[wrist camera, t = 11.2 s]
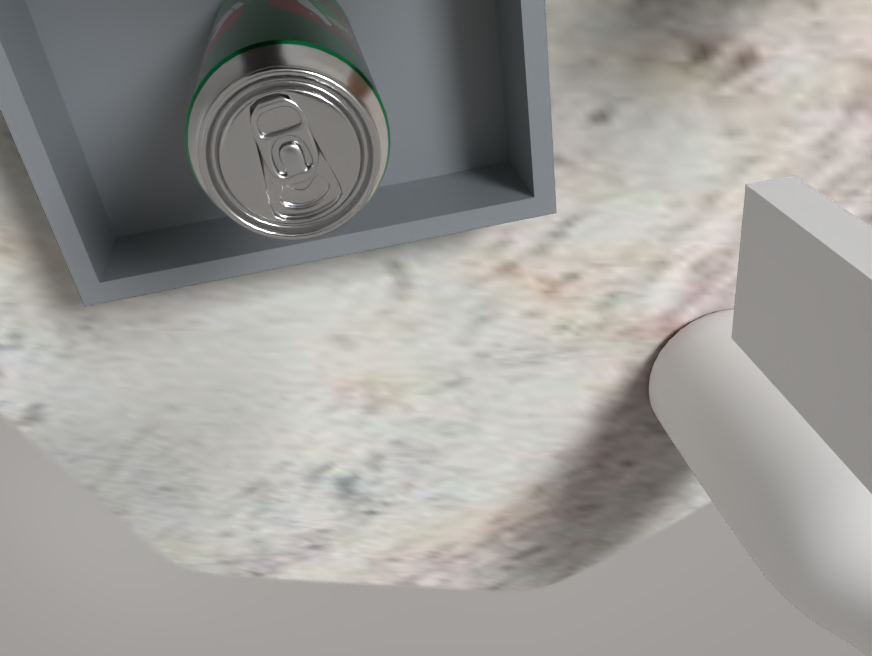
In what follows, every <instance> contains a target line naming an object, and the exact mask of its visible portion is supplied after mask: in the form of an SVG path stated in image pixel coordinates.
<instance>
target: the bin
mask: <svg viewBox="0 0 872 656" xmlns="http://www.w3.org/2000/svg"><path fill="white" fill-rule="evenodd" d="M224 1H225V0H0V110H1V112H2V114H3V117H4V119H5V121H6V124H7V126H8V128H9V131H10V133H11V135H12V138H13V140H14V142H15V145H16V147H17V149H18V152H19V154H20V156H21V159H22V161H23V163H24V166H25V168H26V170H27V173H28V175H29V177H30V180H31V182H32V184H33V187H34V189H35V191H36V194H37V196H38V198H39V201H40V203H41V205H42V208H43V210H44V212H45V215H46V217H47V219H48V222H49V224H50V226H51V229H52V231H53V233H54V236H55V238H56V240H57V243H58V245H59V247H60V250H61V252H62V254H63V257H64V259H65V261H66V264H67V266H68V269H69V271H70V273H71V276H72V278H73V280H74V283H75V285H76V287H77V290H78V292H79V294H80V297H81V299H82V301H83V304H84V306H90V305H95V304H100V303H105V302H110V301H115V300H120V299H125V298H130V297H135V296H140V295H145V294H150V293H155V292H161V291H166V290H171V289H176V288H181V287H186V286H191V285H196V284H201V283H206V282H211V281H216V280H221V279H226V278H231V277H236V276H241V275H246V274H251V273H256V272H261V271H266V270H271V269H276V268H282V267H287V266H292V265H297V264H302V263H307V262H312V261H317V260H322V259H327V258H332V257H337V256H342V255H347V254H352V253H357V252H362V251H367V250H372V249H377V248H382V247H387V246H392V245H398V244H403V243H408V242H413V241H418V240H423V239H428V238H433V237H438V236H443V235H448V234H453V233H458V232H463V231H468V230H473V229H478V228H483V227H488V226H493V225H498V224H503V223H508V222H513V221H519V220H524V219H529V218H534V217H539V216H544V215H549V214H554V213H556V196H555V178H554V160H553V141H552V123H551V105H550V86H549V68H548V50H547V31H546V13H545V0H336V1H337V2H338V3H339V5H340V6H341V7H342V9H343V11H344V12H345V14H346V16H347V17H348V20H349V22H350V25H351V27H352V30H353V32H354V34H355V37H356V39H357V42H358V44H359V47H360V49H361V52H362V54H363V56H364V59H365V61H366V64H367V66H368V69H369V71H370V74H371V76H372V78H373V81H374V83H375V86H376V88H377V91H378V93H379V96H380V98H381V100H382V103H383V106H384V108H385V111H386V113H387V118H388V122H389V127H390V140H391V146H390V155H389V161H388V165H387V168H386V172H385V175H384V177H383V179H382V181H381V183H380V186H379V187H378V189H377V191H376V192H375V194H374V195H373V197H372V198H371V199H370V200H369V202H368V203H367V204H366V205H365V206H364V207H363V208H362V209H361V210H360V211H359V212H358V213H357V214H356V215H355V216H354V217H353V218H352V219H350V220H349V221H348V222H347V223H345V224H344V225H343V226H341V227H339V228H337V229H336V230H334V231H332V232H329V233H327V234H325V235H322V236H319V237H315V238H310V239H304V240H279V239H274V238H269V237H265V236H262V235H259V234H256V233H254V232H252V231H250V230H248V229H246V228H244V227H242V226H241V225H239V224H238V223H236V222H235V221H234V220H232V219H231V218H230V217H229V216H227V215H226V214H225V213H223V212H222V211H221V210H220V209H219V208H218V207H217V206H216V205H215V204H214V203H212V202H211V200H210V199H209V198H208V197H207V195H206V194H205V193H204V191H203V190H202V189H201V187H200V185H199V184H198V182H197V180H196V178H195V176H194V174H193V172H192V169H191V166H190V163H189V161H188V156H187V151H186V146H185V125H186V118H187V112H188V108H189V105H190V101H191V98H192V95H193V91H194V88H195V84H196V81H197V77H198V74H199V71H200V67H201V64H202V60H203V57H204V53H205V50H206V46H207V43H208V40H209V36H210V33H211V29H212V26H213V23H214V20H215V17H216V14H217V12H218V10H219V8H220V6H221V4H222V3H223V2H224Z"/></svg>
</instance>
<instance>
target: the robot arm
mask: <svg viewBox="0 0 872 656" xmlns="http://www.w3.org/2000/svg"><path fill="white" fill-rule="evenodd" d="M731 338H732V339H733V340H734V341H735V343H736V344H737V345H738V346H739V347H740V348H741V349H742V350H743V352H744V353H745V354H746V355H747V356H748V357H749V358H750V359H751V360H752V362H753V363H754V364H755V365H756V366H757V367H758V368H759V369H760V370H761V372H762V373H763V374H764V375H765V376H766V377H767V378H768V379H769V380H770V382H771V383H772V384H773V385H774V386H775V387H776V388H777V389H778V390H779V392H780V393H781V394H782V395H783V396H784V397H785V398H786V399H787V400H788V402H789V403H790V404H791V405H792V406H793V407H794V408H795V409H796V410H797V412H798V413H799V414H800V415H801V416H802V417H803V418H804V419H805V420H806V422H807V423H808V424H809V425H810V426H811V427H812V428H813V429H814V430H815V432H816V433H817V434H818V435H819V436H820V437H821V438H822V439H823V440H824V442H825V443H826V444H827V445H828V446H829V447H830V448H831V449H832V451H833V452H834V453H835V454H836V455H837V456H838V457H839V458H840V459H841V461H842V462H843V463H844V464H845V465H846V466H847V467H848V468H849V469H850V471H851V472H852V473H853V474H854V475H855V476H856V477H857V478H858V479H859V481H860V482H861V483H862V484H863V485H864V486H865V487H866V488H867V489H868V491H869V492H870V493H871V494H872V227H871V226H870V225H868V224H867V223H865V222H864V221H862V220H861V219H859V218H858V217H856V216H855V215H853V214H852V213H850V212H849V211H847V210H846V209H844V208H843V207H841V206H840V205H838V204H837V203H835V202H834V201H832V200H831V199H829V198H828V197H826V196H825V195H823V194H822V193H820V192H819V191H817V190H816V189H814V188H813V187H811V186H810V185H808V184H807V183H805V182H804V181H802V180H801V179H799V178H798V177H796V176H795V175H793V176H787V177H782V178H777V179H772V180H766V181H761V182H756V183H750V184H746V188H745V198H744V209H743V220H742V230H741V241H740V251H739V262H738V272H737V283H736V294H735V304H734V315H733V325H732V336H731Z"/></svg>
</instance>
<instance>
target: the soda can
mask: <svg viewBox="0 0 872 656" xmlns="http://www.w3.org/2000/svg"><path fill="white" fill-rule="evenodd" d="M185 146H186V151H187V156H188V161H189V163H190V166H191V169H192V172H193V174H194V176H195V178H196V180H197V182H198V184H199V185H200V187H201V189H202V190H203V191H204V193H205V194H206V195H207V197H208V198H209V199H210V200H211V202H212V203H214V204H215V205H216V206H217V207H218V208H219V209H220V210H221V211H222V212H223V213H225V214H226V215H227V216H229V217H230V218H231V219H232V220H234V221H235V222H236V223H238V224H239V225H241V226H242V227H244V228H246V229H248V230H250V231H252V232H254V233H256V234H259V235H262V236H265V237H269V238H274V239H279V240H304V239H310V238H315V237H319V236H322V235H325V234H327V233H329V232H332V231H334V230H336V229H337V228H339V227H341V226H343V225H344V224H345V223H347V222H348V221H349V220H350V219H352V218H353V217H354V216H355V215H356V214H357V213H358V212H359V211H360V210H361V209H362V208H363V207H364V206H365V205H366V204H367V203H368V202H369V200H370V199H371V198H372V197H373V195H374V194H375V192H376V191H377V189H378V187H379V186H380V183H381V181H382V179H383V177H384V175H385V172H386V168H387V165H388V161H389V155H390V146H391V140H390V127H389V122H388V118H387V113H386V111H385V108H384V106H383V103H382V100H381V98H380V96H379V93H378V91H377V88H376V86H375V83H374V81H373V78H372V76H371V74H370V71H369V69H368V66H367V64H366V61H365V59H364V56H363V54H362V52H361V49H360V47H359V44H358V42H357V39H356V37H355V34H354V32H353V30H352V27H351V25H350V22H349V20H348V17H347V16H346V14H345V12H344V11H343V9H342V7H341V6H340V5H339V3H338V2H337V1H336V0H225V1H224V2H223V3H222V4H221V6H220V8H219V10H218V12H217V14H216V17H215V20H214V23H213V26H212V29H211V33H210V36H209V40H208V43H207V46H206V50H205V53H204V57H203V60H202V64H201V67H200V71H199V74H198V77H197V81H196V84H195V88H194V91H193V95H192V98H191V101H190V105H189V108H188V112H187V118H186V125H185Z"/></svg>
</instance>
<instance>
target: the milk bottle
mask: <svg viewBox="0 0 872 656" xmlns="http://www.w3.org/2000/svg"><path fill="white" fill-rule="evenodd" d="M733 315H734V309H729V310H722V311H717V312H714V313H711V314H708V315H705V316H703V317H701V318H699V319H697V320H695V321H693V322H691V323H690V324H688V325H687V326H685V327H684V328H682V329H681V330H680V331H679V332H677V333H676V334H675V335H674V336H673V337H672V338H671V339H670V340H669V341H668V342H667V344H666V345H665V346H664V347H663V349H662V350H661V351H660V353H659V355H658V357H657V359H656V360H655V362H654V364H653V368H652V371H651V373H650V381H649V399H650V404H651V407H652V409H653V411H654V413H655V415H656V416H657V418H658V420H659V421H660V423H661V425H662V426H663V428H664V429H665V431H666V432H667V434H668V435H669V437H670V438H671V440H672V442H673V443H674V445H675V446H676V448H677V449H678V451H679V452H680V454H681V455H682V457H683V458H684V460H685V461H686V463H687V464H688V466H689V467H690V469H691V470H692V472H693V473H694V475H695V476H696V478H697V479H698V481H699V482H700V484H701V485H702V487H703V488H704V490H705V491H706V493H707V494H708V496H709V497H710V499H711V500H712V502H713V503H714V505H715V506H716V508H717V509H718V511H719V512H720V513H721V515H722V517H723V518H724V519H725V521H726V522H727V524H728V525H729V527H730V528H731V530H732V531H733V533H734V534H735V536H736V537H737V538H738V540H739V541H740V543H741V545H742V546H743V547H744V549H745V550H746V551H747V553H748V554H749V556H750V557H751V558H752V560H753V561H754V562H755V564H756V565H757V566H758V568H759V569H760V571H761V572H762V573H763V575H764V576H765V577H766V578H767V580H768V581H769V582H770V583H771V584H772V585H773V586H774V588H775V589H776V590H777V591H778V592H779V593H780V594H781V595H782V596H783V597H784V598H785V599H786V600H787V601H788V602H789V603H790V604H791V605H793V606H794V607H795V608H796V609H797V610H799V611H800V612H801V613H803V614H804V615H805V616H806V617H808V618H809V619H811V620H812V621H814V622H815V623H817V624H818V625H820V626H821V627H823V628H825V629H826V630H828V631H830V632H831V633H833V634H835V635H836V636H838V637H840V638H841V639H843V640H844V641H846V642H848V643H849V644H851V645H852V646H854V647H855V648H857V649H858V650H860V651H861V652H862V653H863V654H865V655H866V656H872V494H871V493H870V492H869V491H868V489H867V488H866V487H865V486H864V485H863V484H862V483H861V482H860V481H859V479H858V478H857V477H856V476H855V475H854V474H853V473H852V472H851V471H850V469H849V468H848V467H847V466H846V465H845V464H844V463H843V462H842V461H841V459H840V458H839V457H838V456H837V455H836V454H835V453H834V452H833V451H832V449H831V448H830V447H829V446H828V445H827V444H826V443H825V442H824V440H823V439H822V438H821V437H820V436H819V435H818V434H817V433H816V432H815V430H814V429H813V428H812V427H811V426H810V425H809V424H808V423H807V422H806V420H805V419H804V418H803V417H802V416H801V415H800V414H799V413H798V412H797V410H796V409H795V408H794V407H793V406H792V405H791V404H790V403H789V402H788V400H787V399H786V398H785V397H784V396H783V395H782V394H781V393H780V392H779V390H778V389H777V388H776V387H775V386H774V385H773V384H772V383H771V382H770V380H769V379H768V378H767V377H766V376H765V375H764V374H763V373H762V372H761V370H760V369H759V368H758V367H757V366H756V365H755V364H754V363H753V362H752V360H751V359H750V358H749V357H748V356H747V355H746V354H745V353H744V352H743V350H742V349H741V348H740V347H739V346H738V345H737V344H736V343H735V341H734V340H733V339H732V338H731V336H732V325H733Z"/></svg>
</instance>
